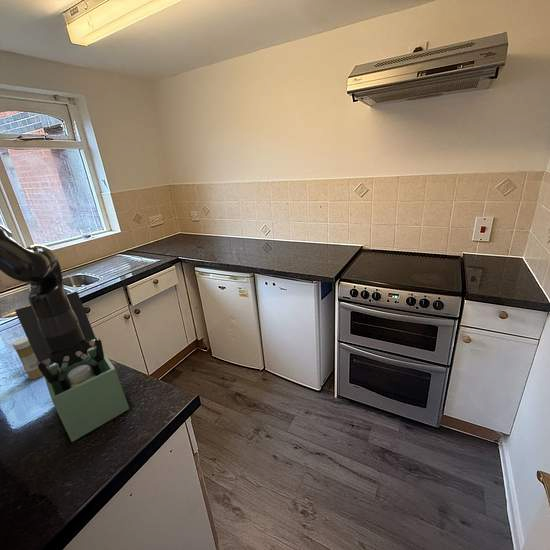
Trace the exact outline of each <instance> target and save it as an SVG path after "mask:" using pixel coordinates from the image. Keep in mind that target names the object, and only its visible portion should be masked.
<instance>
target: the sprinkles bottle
mask: <svg viewBox="0 0 550 550" xmlns="http://www.w3.org/2000/svg"><path fill="white" fill-rule="evenodd" d="M12 347H13V349H14V351H15V352H16V354H17V356H18V358H19V360H20V362H21V364H22V366H23V368H24V371H25V372H26V374H27V376H28V379H29V380H36V379H39V378H41V377H43V376H44V375H43V374H42V372H41V371H40V370H39V368H38V366H37V361H38V360H37V358H36V356H35V354H34V352H33V349H32V347H31V345H30V343H29V341H28V338H27V336H24V337H21V338H18V339H16V340H14V341H13V342H12Z"/></svg>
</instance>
